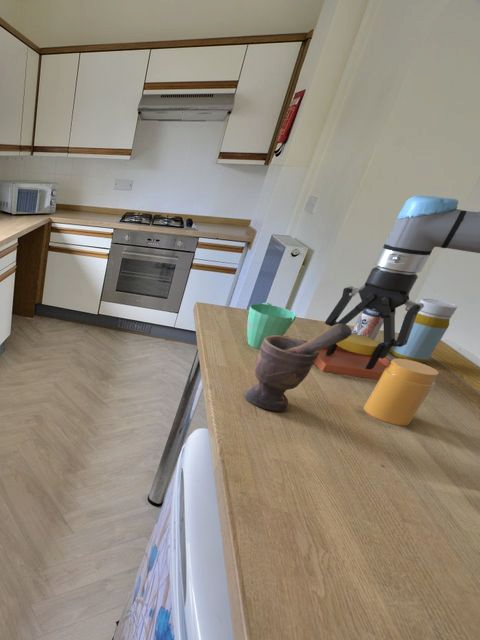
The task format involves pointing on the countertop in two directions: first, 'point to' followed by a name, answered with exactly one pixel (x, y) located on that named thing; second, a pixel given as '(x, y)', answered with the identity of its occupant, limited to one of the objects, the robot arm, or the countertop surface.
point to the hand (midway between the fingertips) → (348, 360)
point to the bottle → (426, 331)
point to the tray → (349, 363)
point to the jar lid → (359, 344)
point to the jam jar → (400, 391)
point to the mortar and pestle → (287, 365)
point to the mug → (267, 322)
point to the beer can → (369, 323)
